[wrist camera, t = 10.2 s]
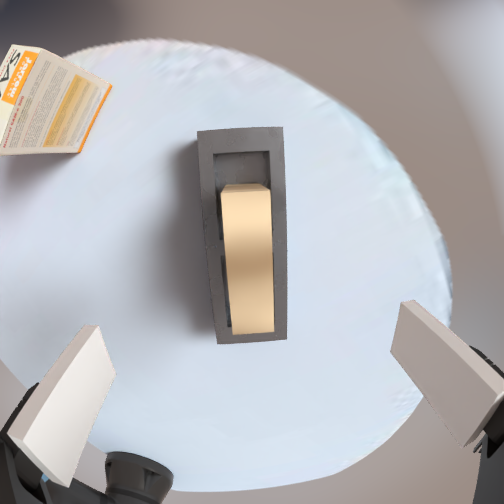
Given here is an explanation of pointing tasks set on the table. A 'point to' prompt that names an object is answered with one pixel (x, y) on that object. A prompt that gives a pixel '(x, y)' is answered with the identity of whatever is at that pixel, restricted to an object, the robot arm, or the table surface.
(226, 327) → the grey rectangular block
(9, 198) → the table surface
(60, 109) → the supplement box
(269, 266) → the clip
